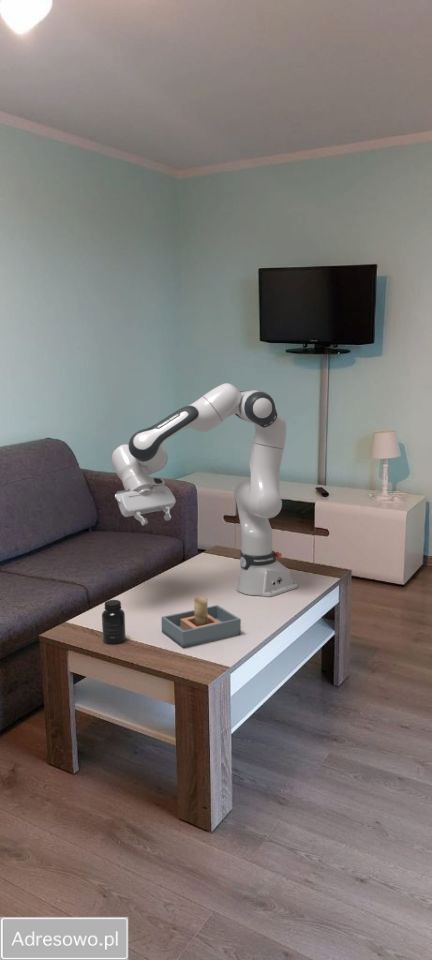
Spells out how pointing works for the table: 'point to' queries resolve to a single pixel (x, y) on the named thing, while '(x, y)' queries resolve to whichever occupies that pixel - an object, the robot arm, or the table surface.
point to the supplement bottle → (113, 622)
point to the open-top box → (200, 627)
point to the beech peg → (200, 611)
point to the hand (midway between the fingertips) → (157, 521)
